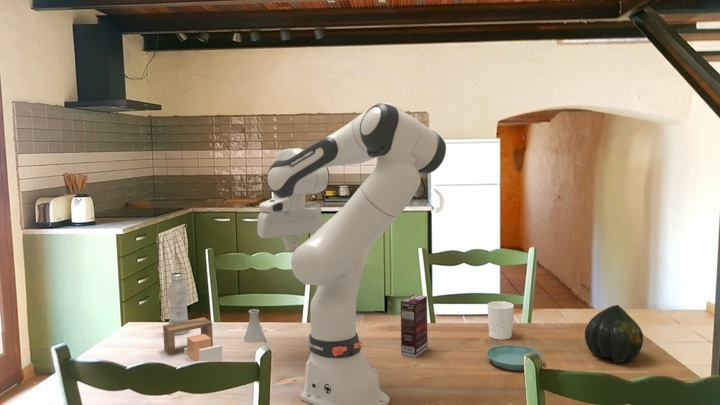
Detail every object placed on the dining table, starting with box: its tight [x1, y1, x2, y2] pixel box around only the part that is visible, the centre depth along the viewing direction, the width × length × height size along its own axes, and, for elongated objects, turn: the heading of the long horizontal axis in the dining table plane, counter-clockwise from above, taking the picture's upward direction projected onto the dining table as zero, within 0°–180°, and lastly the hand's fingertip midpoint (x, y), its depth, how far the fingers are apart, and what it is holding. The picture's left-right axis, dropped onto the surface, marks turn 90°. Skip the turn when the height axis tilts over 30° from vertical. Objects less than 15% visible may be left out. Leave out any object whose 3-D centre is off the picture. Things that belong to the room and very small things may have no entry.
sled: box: [183, 344, 223, 363], centre depth 167 cm, size 15×6×6 cm, turn 36°
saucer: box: [486, 344, 543, 371], centre depth 165 cm, size 15×15×3 cm
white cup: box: [487, 300, 515, 340], centre depth 187 cm, size 8×8×10 cm
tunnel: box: [162, 317, 214, 357], centre depth 176 cm, size 6×12×8 cm, turn 126°
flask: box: [243, 308, 267, 344], centre depth 184 cm, size 7×7×10 cm
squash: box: [584, 304, 644, 364], centre depth 168 cm, size 14×15×15 cm
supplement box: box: [400, 294, 429, 358], centre depth 174 cm, size 9×5×16 cm, turn 149°
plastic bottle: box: [166, 271, 190, 336], centre depth 191 cm, size 6×7×20 cm
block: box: [186, 333, 211, 361], centre depth 169 cm, size 5×5×6 cm
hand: (291, 250), depth 178 cm, fingers closed
